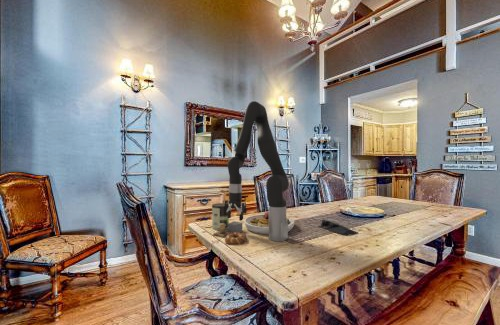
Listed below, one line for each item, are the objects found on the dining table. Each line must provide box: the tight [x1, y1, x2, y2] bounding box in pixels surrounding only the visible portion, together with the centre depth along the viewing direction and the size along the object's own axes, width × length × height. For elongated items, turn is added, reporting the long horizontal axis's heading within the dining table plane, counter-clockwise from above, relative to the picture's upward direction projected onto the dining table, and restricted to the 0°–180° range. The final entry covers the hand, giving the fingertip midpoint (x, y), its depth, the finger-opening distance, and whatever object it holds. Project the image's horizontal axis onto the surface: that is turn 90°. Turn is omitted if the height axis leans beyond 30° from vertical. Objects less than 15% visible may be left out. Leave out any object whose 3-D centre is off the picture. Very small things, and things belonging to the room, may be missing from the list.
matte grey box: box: [227, 221, 243, 233], centre depth 131 cm, size 6×6×5 cm
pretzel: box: [224, 232, 248, 245], centre depth 116 cm, size 12×11×4 cm
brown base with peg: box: [212, 223, 231, 239], centre depth 126 cm, size 7×7×6 cm
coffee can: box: [211, 202, 230, 231], centre depth 139 cm, size 10×10×14 cm
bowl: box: [243, 210, 295, 236], centre depth 138 cm, size 30×30×8 cm
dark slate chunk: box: [317, 219, 359, 236], centre depth 133 cm, size 15×22×5 cm
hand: (234, 219), depth 132 cm, fingers open, 8 cm apart
